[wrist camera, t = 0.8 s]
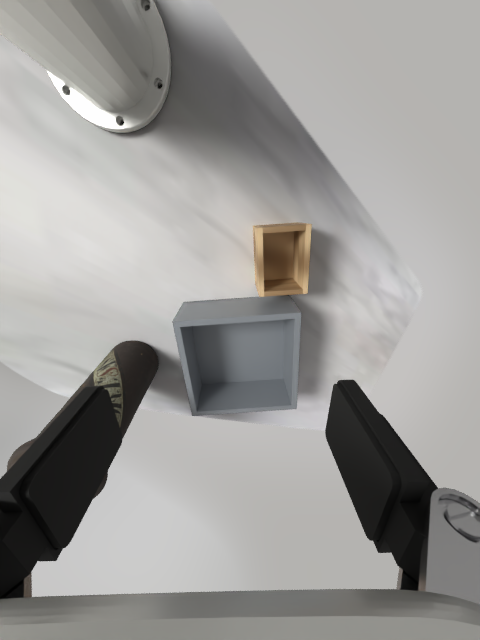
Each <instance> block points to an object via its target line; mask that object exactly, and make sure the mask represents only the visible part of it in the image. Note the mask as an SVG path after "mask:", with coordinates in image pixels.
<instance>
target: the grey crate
mask: <svg viewBox="0 0 480 640" xmlns="http://www.w3.org/2000/svg"><path fill="white" fill-rule="evenodd" d="M172 322H173V327H174V332H175V336H176V341H177V346H178V351H179V355H180V360H181V365H182V370H183V374H184V379H185V384H186V389H187V393H188V398H189V403H190V408H191V412H192V416H200V415H215V414H229V413H244V412H258V411H273V410H287V409H297V391H298V370H299V350H300V329H301V311H300V310H299V308H298V307H297V306H296V304H295V303H294V301H293V300H292V298H291V297H290V295H280V296H266V297H249V298H235V299H221V300H207V301H193V302H183V304H182V306H181V308H180V309H179V311H178V313H177V315H176V316H175V318H174V320H173V321H172Z"/></svg>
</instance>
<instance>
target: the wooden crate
mask: <svg viewBox="0 0 480 640" xmlns="http://www.w3.org/2000/svg"><path fill="white" fill-rule="evenodd" d="M311 226H312V224H307V223H284V224H271V225H257V226H253V236H254V261H255V284H256V288H257V291H258V294H259V297H266V296H280V295H294V294H308V277H309V260H310V243H311Z"/></svg>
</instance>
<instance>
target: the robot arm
mask: <svg viewBox="0 0 480 640" xmlns="http://www.w3.org/2000/svg"><path fill="white" fill-rule="evenodd" d="M147 9H149V10H148V11H146V10H147ZM0 35H2V36H3V37H4V38H6V39H7V40H8V41H9V42H11V43H12V44H13V45H15V46H16V47H17V48H18V49H20V50H21V51H22V52H24V53H25V54H26V55H28V56H29V57H30V58H31V59H33V60H34V61H35V62H37V63H38V64H39V65H40V66H42V67H43V68H44V69H46V70H47V73H48V75H49V76H50V78H51V80H52V82H53V84H54V86H55V87H56V89H57V90H58V92H59V93H60V95H61V96H62V97H63V99H64V100H65V101H66V102H67V103H68V104H69V105H70V106H71V108H72V109H73V110H74V111H75V112H77V113H78V114H79V115H81V116H82V117H83V118H84V119H86V120H87V121H89V122H90V123H92V124H94V125H95V126H97V127H100V128H102V129H104V130H107V131H111V132H116V133H129V132H132V131H136V130H139V129H141V128H143V127H144V126H146V125H148V124H149V123H150V122H151V121H152V120H153V119H154V118H155V117H156V116H157V114H158V113H159V111H160V110H161V108H162V106H163V104H164V102H165V99H166V97H167V94H168V90H169V85H170V79H171V55H170V47H169V42H168V38H167V33H166V30H165V27H164V24H163V21H162V18H161V16H160V14H159V11H158V9H157V7H156V4H155V2H154V0H0ZM159 85H162V88H161V89H159ZM70 92H71V94H70ZM122 121H124V124H123V126H122V124H121V123H122ZM326 439H327V442H328V444H329V446H330V449H331V451H332V454H333V456H334V459H335V461H336V463H337V466H338V468H339V471H340V473H341V476H342V478H343V480H344V483H345V485H346V488H347V490H348V493H349V495H350V497H351V500H352V502H353V505H354V507H355V510H356V512H357V515H358V517H359V519H360V522H361V524H362V527H363V529H364V532H365V534H366V536H367V538H368V539H369V540H373V541H374V544H375V546H376V548H377V551H378V553H387V552H388V553H389V552H392V555H393V556H394V559H395V561H396V563H397V565H398V566H399V574H398V581H397V589H391V590H390V589H380V590H379V589H325V590H324V589H323V590H273V591H225V592H185V593H149V594H148V593H146V594H112V595H80V596H48V597H32V589H31V588H32V586H31V585H32V583H31V582H32V581H31V571H32V570H33V568H34V566H35V564H36V563H37V561H56V560H57V558H58V556H59V555H60V553H61V551H62V549H63V548H65V547H66V546H67V545H68V544H69V543H70V541H71V540H72V538H73V536H74V534H75V532H76V530H77V528H78V526H79V524H80V522H81V520H82V518H83V517H84V515H85V513H86V511H87V509H88V507H89V505H90V503H91V501H92V499H93V497H94V496H95V494H96V492H97V490H98V488H99V486H100V484H101V482H102V480H103V478H104V476H105V474H106V473H107V471H108V469H109V467H110V465H111V463H112V461H113V459H114V457H115V455H116V453H117V451H118V449H119V448H120V446H121V443H122V433H121V430H120V427H119V423H118V420H117V417H116V414H115V411H114V407H113V404H112V401H111V398H110V394H109V392H108V390H107V389H105V388H104V387H103V386H87V387H85V388H84V389H83V390H82V391H81V392H80V393H79V394H78V395H77V396H76V397H75V399H74V400H73V401H72V402H71V403H70V404H69V405H68V406H67V407H66V408H65V409H64V411H63V412H62V413H61V414H60V415H59V416H58V417H57V418H56V419H55V420H54V421H53V422H52V424H51V425H50V426H49V427H48V428H47V429H46V430H45V431H44V432H43V433H42V434H41V435H40V437H39V438H38V439H37V440H36V441H35V442H34V443H33V444H32V445H31V446H30V447H29V448H28V450H27V451H26V452H25V453H24V454H23V455H22V456H21V457H20V458H19V459H18V460H17V461H16V463H15V464H14V465H13V466H12V467H11V468H10V469H9V470H8V471H7V472H6V474H5V475H4V476H3V477H2V478H1V479H0V640H480V503H478V502H477V501H476V500H474V499H473V498H471V497H469V496H468V495H466V494H464V493H462V492H459V491H457V490H454V489H449V488H439V489H438V488H437V486H436V485H435V484H434V482H433V481H432V480H431V478H430V477H429V476H428V474H427V473H426V472H425V471H424V469H423V468H422V467H421V465H420V464H419V463H418V461H417V460H416V459H415V457H414V456H413V455H412V453H411V452H410V450H409V449H408V448H407V446H406V445H405V444H404V443H403V441H402V440H401V439H400V437H399V436H398V434H397V433H396V432H395V431H394V429H393V428H392V427H391V425H390V424H389V423H388V421H387V420H386V419H385V417H383V415H381V414H380V413H379V412H378V411H377V410H376V408H375V407H374V406H373V404H372V403H371V402H370V400H369V399H368V398H367V396H366V395H365V394H364V392H363V391H362V390H361V388H360V387H359V385H358V384H357V383H356V382H355V381H354V380H339V381H338V382H337V384H334V386H333V391H332V396H331V402H330V408H329V414H328V419H327V425H326Z"/></svg>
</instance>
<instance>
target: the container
mask: <svg viewBox="0 0 480 640" xmlns="http://www.w3.org/2000/svg"><path fill="white" fill-rule="evenodd" d="M158 365H159V363H158V358H157V355H156V353H155V352H154V350H153V349H152V348H151V347H149V346H148V345H147V344H145V343H142V342H139V341H125V342H122V343H120V344H118V345H117V346H115V347H114V348H113V349H112V350H111V352H110V353H109V354H108V355H107V356H106V357H105V358H104V360H103V361H102V362H101V363H100V364H99V365H98V367H97V368H96V369H95V370H94V371H93V372H92V374H91V375H90V376H89V377H88V378H87V379H86V381H85V382H84V383H83V384H82V385H81V386H80V387H79V389H78V390H77V391H76V392H75V393H74V394H73V395H72V397H71V398H70V399H69V400H68V401H67V403H66V404H65V405H64V406H63V408H62V409H61V410H60V411H59V412H58V413H57V414H56V415H55V417H54V418H53V419H52V420H51V421H50V422H49V423H48V424H47V426H46V427H45V428H44V429H43V430H42V431H41V433H40V434H39V435H38V436H37V437H36V438H35V439H33V440H31V441H28V442H26V443H25V444H23V445H21V446H20V447H19V448H18V449H16V451H15V452H14V453H13V454H12V456H11V457H10V459H9V461H8V465H7V471H8V470H9V469H10V468H11V467H12V466H13V465H14V464H15V463H16V461H17V460H18V459H19V458H20V457H21V456H22V455H23V454H24V453H25V452H26V451H27V450H28V448H29V447H30V446H31V445H32V444H33V443H34V442H35V441H36V440H37V439H38V438H39V437H40V435H41V434H42V433H43V432H44V431H45V430H46V429H47V428H48V427H49V426H50V425H51V424H52V422H53V421H54V420H55V419H56V418H57V417H58V416H59V415H60V414H61V413H62V412H63V411H64V409H65V408H66V407H67V406H68V405H69V404H70V403H71V402H72V401H73V400H74V399H75V397H76V396H77V395H78V394H79V393H80V392H81V391H82V390H83V389H84V388H85V387H87V386H103V387H104V388H105V389H107V390H108V392H109V394H110V398H111V401H112V404H113V407H114V411H115V414H116V417H117V420H118V423H119V427H120V430H121V433H122V438H123V437H124V435H125V433H126V431H127V429H128V427H129V425H130V423H131V421H132V419H133V417H134V415H135V413H136V411H137V409H138V407H139V405H140V403H141V401H142V399H143V397H144V395H145V393H146V391H147V389H148V388H149V386H150V384H151V382H152V380H153V378H154V376H155V374H156V372H157V369H158ZM107 472H108V471H107ZM107 475H108V474H107V473H106V474H105V476H104V478H103V480H102V482H101V484H100V486H99V488H98V490H97V492H96V494H95V496H94V497H93V498H95V497H96V496H97V495H98V494H99V493H100V492H101V491H102V489H103V488H104V486H105V484H106V481H107Z"/></svg>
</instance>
